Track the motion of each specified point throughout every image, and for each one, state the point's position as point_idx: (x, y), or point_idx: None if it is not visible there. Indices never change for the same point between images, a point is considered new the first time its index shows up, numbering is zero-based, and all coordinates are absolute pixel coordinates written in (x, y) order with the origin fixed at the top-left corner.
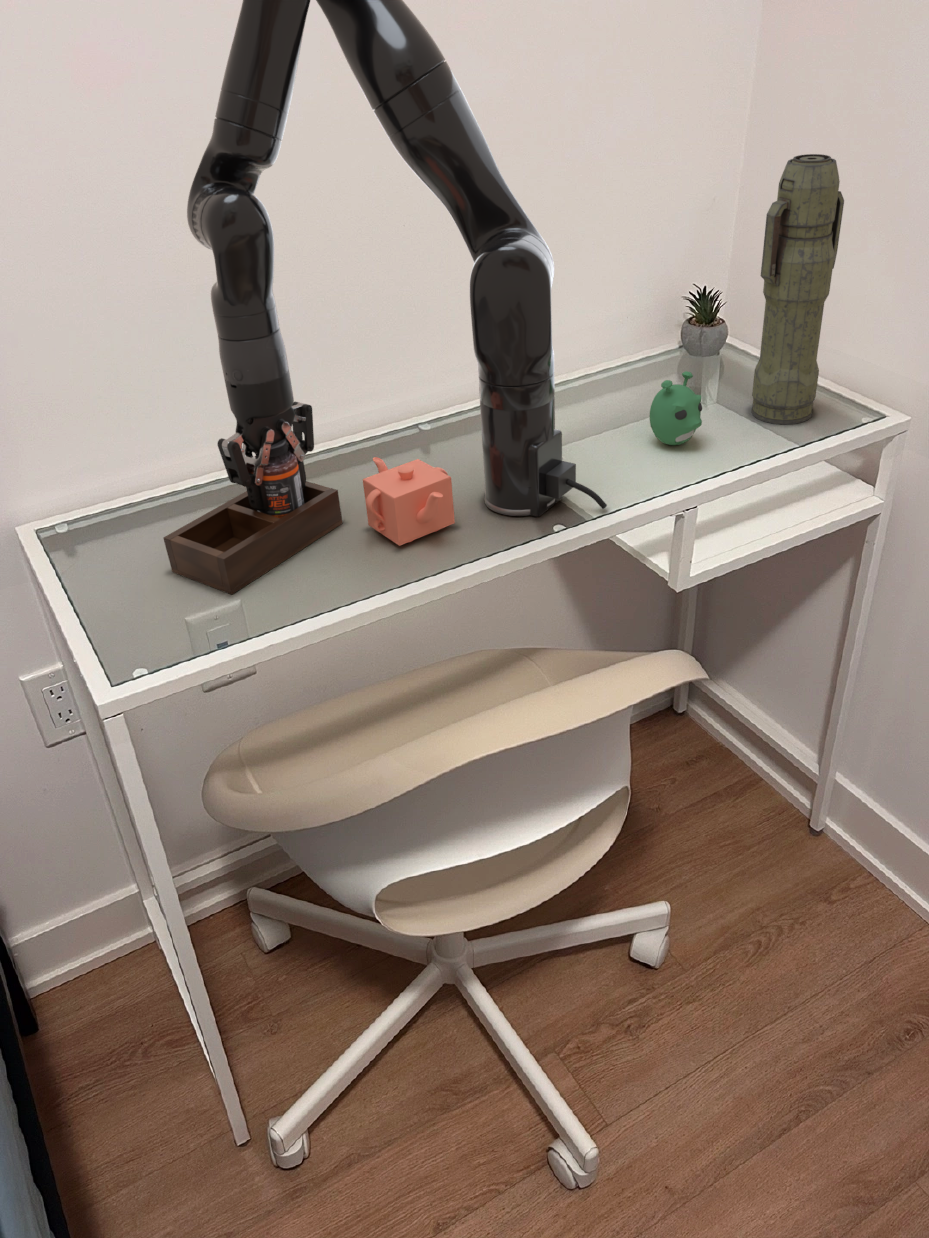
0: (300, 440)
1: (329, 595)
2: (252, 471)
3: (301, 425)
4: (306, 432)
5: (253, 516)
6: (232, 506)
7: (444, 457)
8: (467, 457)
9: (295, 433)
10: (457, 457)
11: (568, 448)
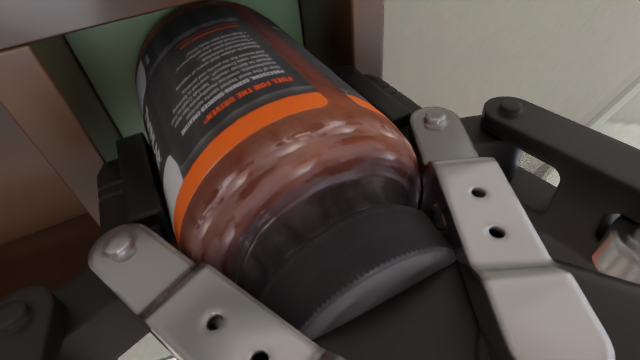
0: (516, 150)
1: (147, 337)
2: (182, 250)
3: (584, 226)
4: (541, 230)
5: (85, 206)
6: (9, 68)
7: (611, 23)
8: (607, 57)
9: (547, 163)
10: (609, 43)
11: (620, 134)
